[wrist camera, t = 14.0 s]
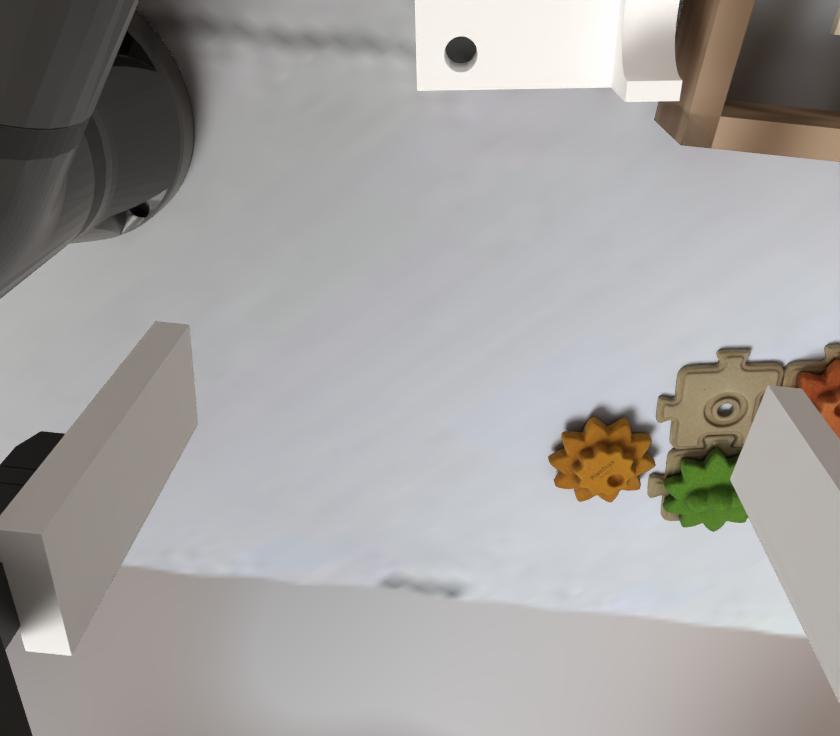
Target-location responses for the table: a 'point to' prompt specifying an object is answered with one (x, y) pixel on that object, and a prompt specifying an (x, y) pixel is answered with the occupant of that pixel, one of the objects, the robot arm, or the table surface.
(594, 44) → the bracket
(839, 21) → the pad
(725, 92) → the arena
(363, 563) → the table surface
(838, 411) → the gear puzzle
